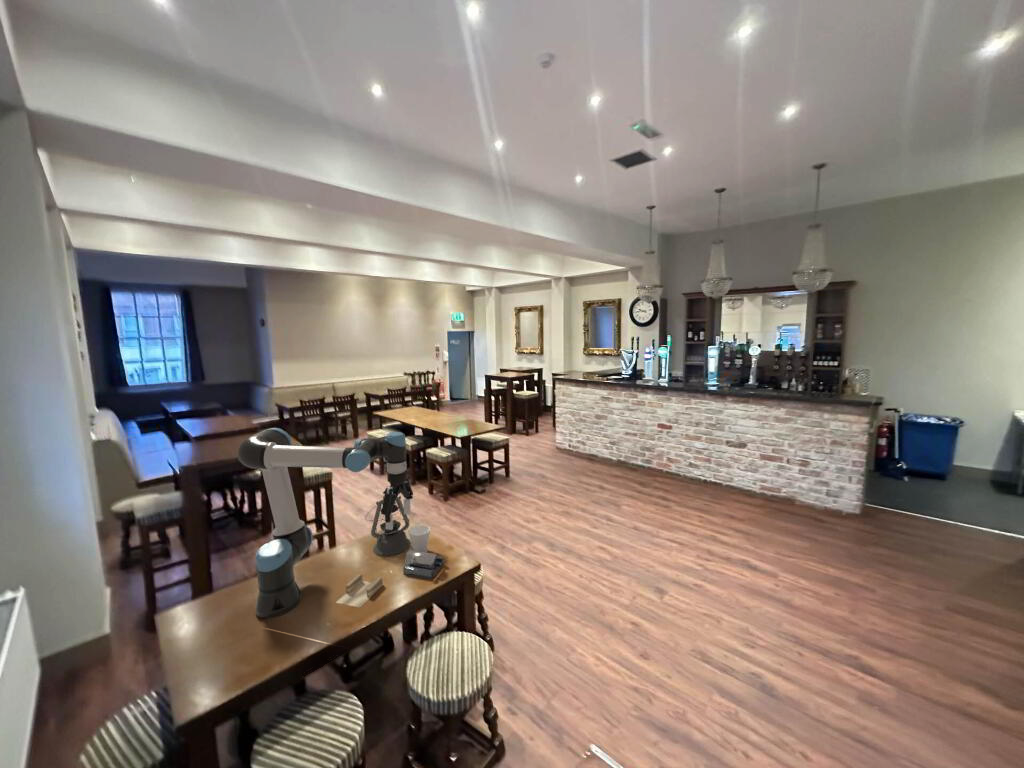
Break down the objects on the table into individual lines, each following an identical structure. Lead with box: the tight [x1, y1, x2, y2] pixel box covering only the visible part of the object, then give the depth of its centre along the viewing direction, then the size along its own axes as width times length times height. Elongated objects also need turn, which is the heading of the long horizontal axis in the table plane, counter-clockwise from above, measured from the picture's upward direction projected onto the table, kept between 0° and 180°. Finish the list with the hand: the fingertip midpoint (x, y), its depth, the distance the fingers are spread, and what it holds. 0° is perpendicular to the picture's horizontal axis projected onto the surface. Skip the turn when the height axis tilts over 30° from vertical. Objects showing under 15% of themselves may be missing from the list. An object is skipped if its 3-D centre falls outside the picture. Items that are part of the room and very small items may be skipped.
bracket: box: [335, 573, 383, 609], centre depth 157 cm, size 11×14×4 cm
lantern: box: [364, 485, 412, 557], centre depth 191 cm, size 18×20×30 cm
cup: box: [407, 524, 431, 553], centre depth 186 cm, size 10×10×11 cm
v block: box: [402, 555, 445, 580], centre depth 172 cm, size 13×12×4 cm
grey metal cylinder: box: [404, 549, 438, 569], centre depth 172 cm, size 6×12×6 cm, turn 73°
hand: (398, 521), depth 164 cm, fingers open, 13 cm apart
